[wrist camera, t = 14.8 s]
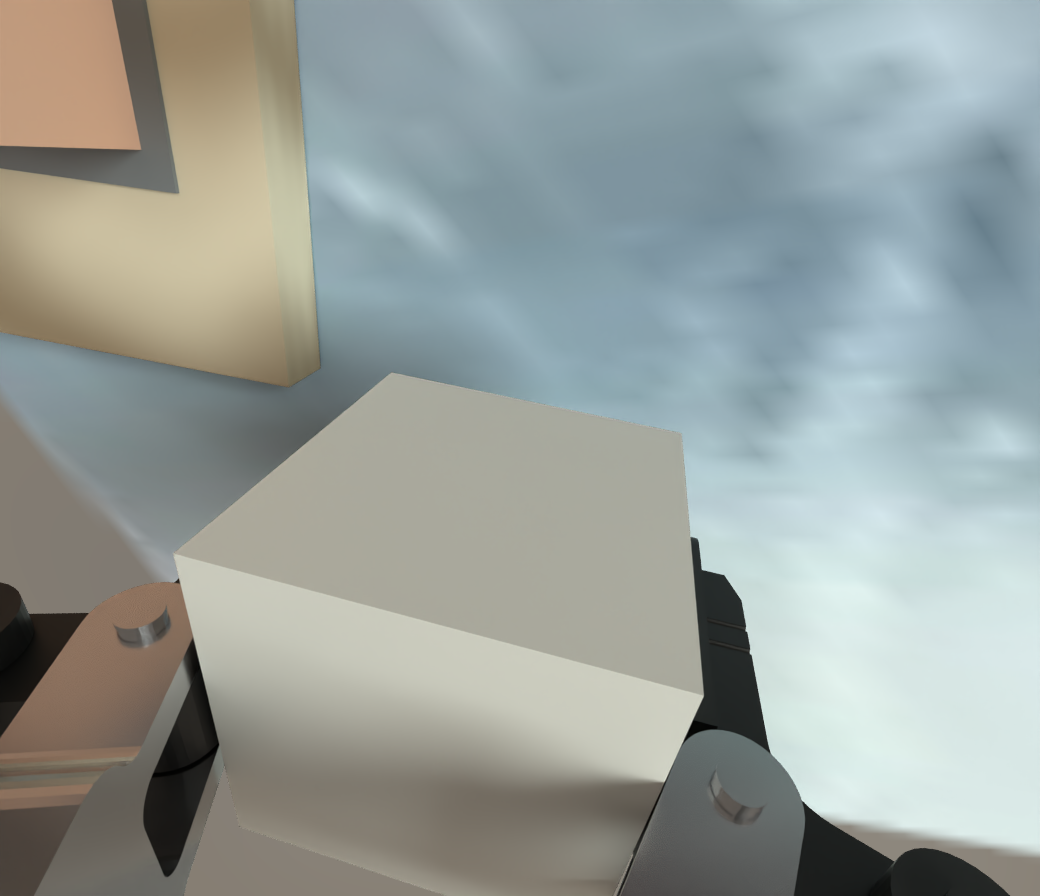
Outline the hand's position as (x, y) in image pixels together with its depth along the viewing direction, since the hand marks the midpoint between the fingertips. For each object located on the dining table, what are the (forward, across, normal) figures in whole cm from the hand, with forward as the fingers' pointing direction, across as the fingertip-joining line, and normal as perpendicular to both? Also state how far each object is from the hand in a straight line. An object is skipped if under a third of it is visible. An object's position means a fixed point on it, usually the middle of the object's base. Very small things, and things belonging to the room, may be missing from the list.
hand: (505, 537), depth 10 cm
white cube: (+1, 0, 0) cm, 1 cm away
